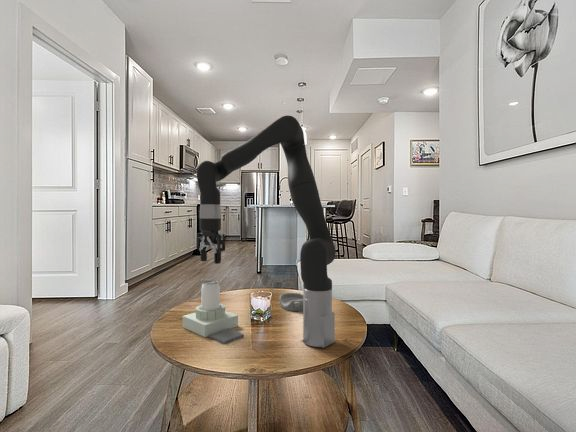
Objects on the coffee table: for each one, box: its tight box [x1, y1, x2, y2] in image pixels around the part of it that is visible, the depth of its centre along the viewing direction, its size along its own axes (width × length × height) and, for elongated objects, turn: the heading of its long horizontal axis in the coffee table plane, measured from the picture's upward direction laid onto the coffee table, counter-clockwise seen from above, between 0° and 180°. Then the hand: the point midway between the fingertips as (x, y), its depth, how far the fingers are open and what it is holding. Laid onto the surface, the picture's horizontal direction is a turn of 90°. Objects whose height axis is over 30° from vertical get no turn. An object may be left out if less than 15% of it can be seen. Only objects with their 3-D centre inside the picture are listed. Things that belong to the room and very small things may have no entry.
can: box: [200, 280, 221, 311], centre depth 113 cm, size 6×6×12 cm
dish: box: [279, 292, 303, 312], centre depth 137 cm, size 14×14×5 cm
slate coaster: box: [208, 328, 245, 345], centre depth 103 cm, size 8×8×1 cm
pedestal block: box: [182, 303, 239, 338], centre depth 113 cm, size 14×14×7 cm
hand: (210, 262), depth 113 cm, fingers open, 8 cm apart
